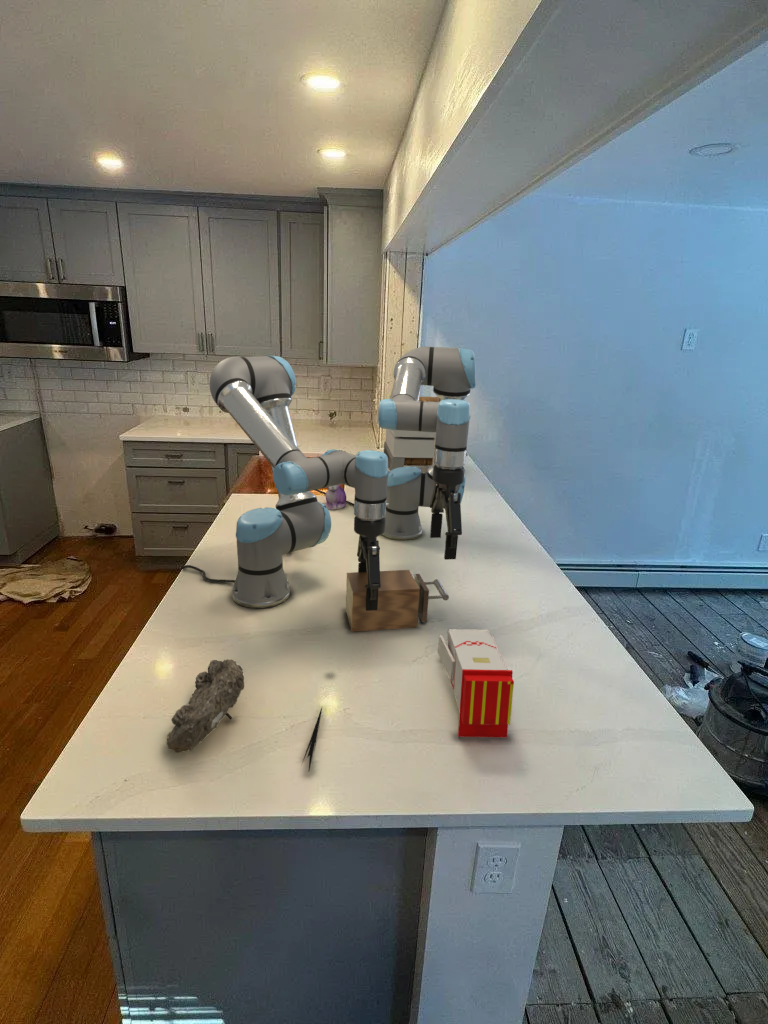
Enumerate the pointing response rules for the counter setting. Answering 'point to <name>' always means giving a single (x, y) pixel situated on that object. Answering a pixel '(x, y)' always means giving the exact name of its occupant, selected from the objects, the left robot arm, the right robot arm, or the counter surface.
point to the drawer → (427, 595)
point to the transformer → (409, 446)
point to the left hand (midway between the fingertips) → (367, 597)
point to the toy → (478, 682)
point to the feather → (313, 740)
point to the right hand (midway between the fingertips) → (442, 547)
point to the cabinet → (383, 601)
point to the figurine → (335, 497)
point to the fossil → (206, 705)
